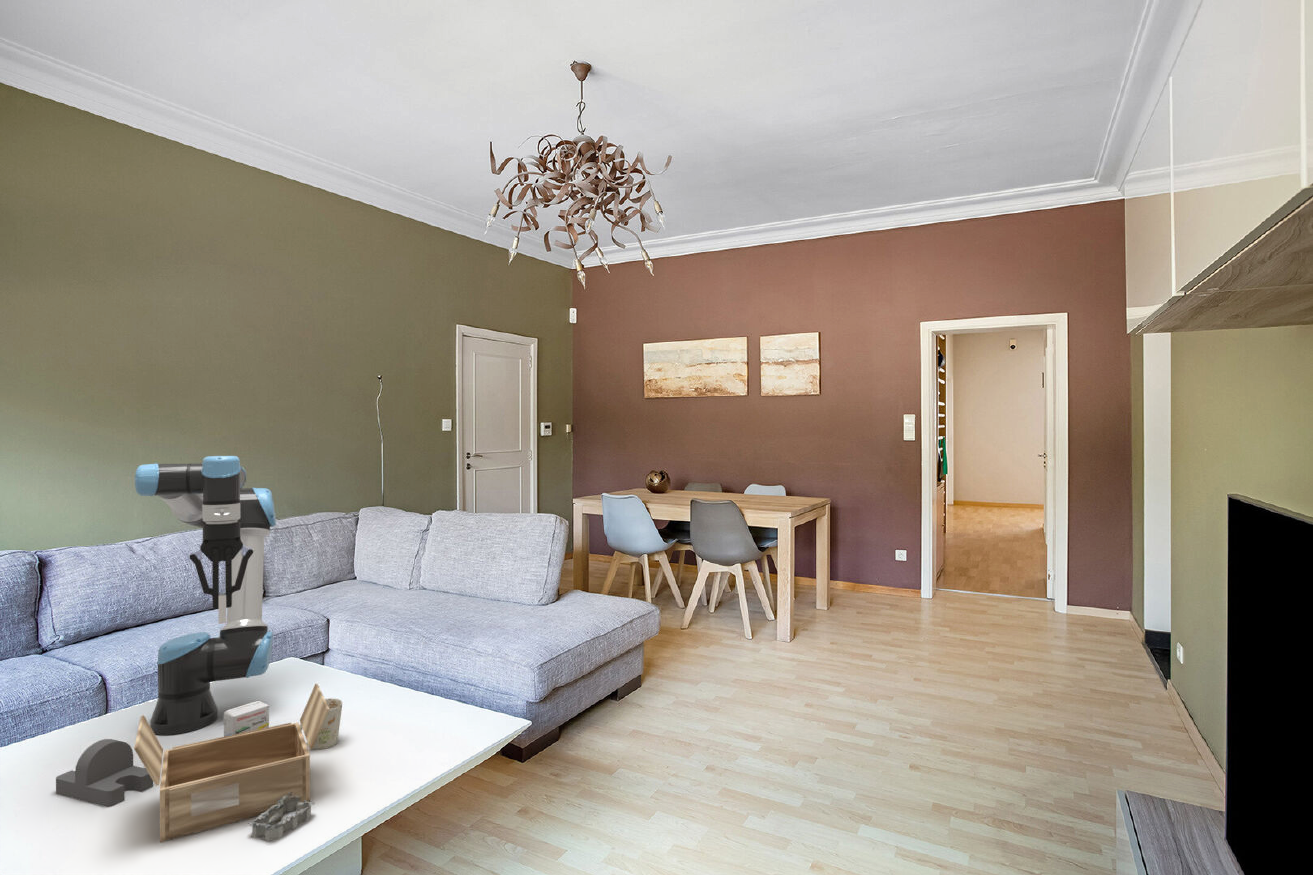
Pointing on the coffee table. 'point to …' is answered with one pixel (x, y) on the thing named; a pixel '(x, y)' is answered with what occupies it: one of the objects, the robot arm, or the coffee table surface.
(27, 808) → the coffee table surface
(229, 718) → the ink box
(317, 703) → the flap
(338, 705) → the mug
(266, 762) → the light wood open box
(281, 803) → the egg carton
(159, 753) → the flap
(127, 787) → the bracket
